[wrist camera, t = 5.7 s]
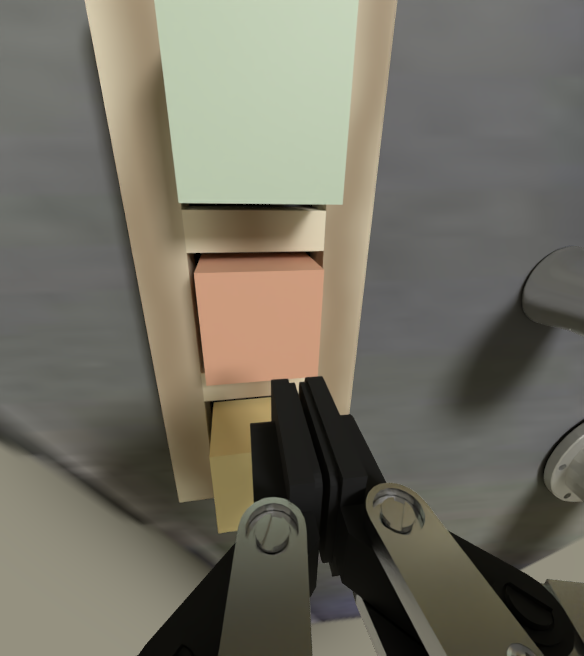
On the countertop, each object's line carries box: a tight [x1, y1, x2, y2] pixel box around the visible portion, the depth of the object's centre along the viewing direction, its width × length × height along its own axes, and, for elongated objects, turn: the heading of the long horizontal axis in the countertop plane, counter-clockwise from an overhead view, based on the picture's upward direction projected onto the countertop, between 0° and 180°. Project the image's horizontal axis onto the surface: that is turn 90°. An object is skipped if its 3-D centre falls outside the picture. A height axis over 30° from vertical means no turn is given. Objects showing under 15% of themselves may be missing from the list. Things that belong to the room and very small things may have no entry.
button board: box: [85, 0, 397, 503], centre depth 19 cm, size 12×28×3 cm, turn 179°
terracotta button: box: [194, 252, 324, 386], centre depth 18 cm, size 6×6×4 cm
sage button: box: [154, 0, 359, 205], centre depth 12 cm, size 6×6×4 cm
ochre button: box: [209, 397, 271, 533], centre depth 20 cm, size 6×6×4 cm
